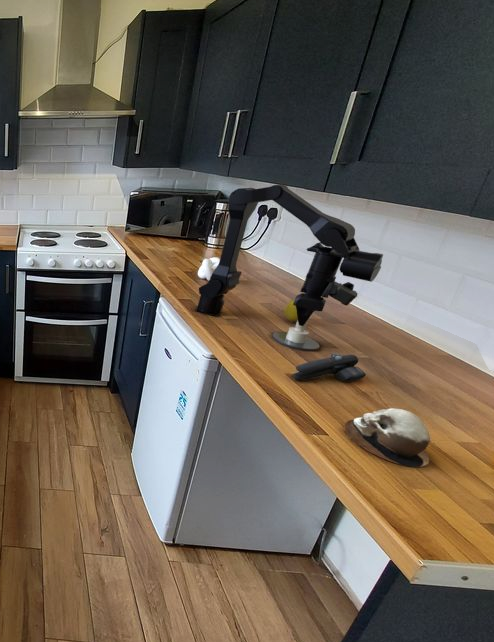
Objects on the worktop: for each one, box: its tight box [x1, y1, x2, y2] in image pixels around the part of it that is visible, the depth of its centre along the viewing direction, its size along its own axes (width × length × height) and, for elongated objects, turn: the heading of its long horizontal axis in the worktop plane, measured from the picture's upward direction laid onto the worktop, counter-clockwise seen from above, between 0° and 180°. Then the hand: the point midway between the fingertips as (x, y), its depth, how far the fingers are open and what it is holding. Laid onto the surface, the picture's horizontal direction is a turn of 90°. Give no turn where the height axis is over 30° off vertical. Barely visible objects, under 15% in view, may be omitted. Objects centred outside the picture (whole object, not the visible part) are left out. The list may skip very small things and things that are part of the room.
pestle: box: [286, 316, 311, 343], centre depth 112 cm, size 5×5×12 cm
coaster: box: [271, 331, 320, 352], centre depth 115 cm, size 11×11×1 cm
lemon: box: [284, 299, 298, 323], centre depth 127 cm, size 6×6×8 cm
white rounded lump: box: [197, 256, 220, 282], centre depth 164 cm, size 11×12×9 cm
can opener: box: [291, 352, 367, 383], centre depth 96 cm, size 18×7×6 cm, turn 100°
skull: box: [344, 407, 431, 468], centre depth 75 cm, size 12×10×10 cm
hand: (301, 324), depth 113 cm, fingers closed on pestle, 2 cm apart
